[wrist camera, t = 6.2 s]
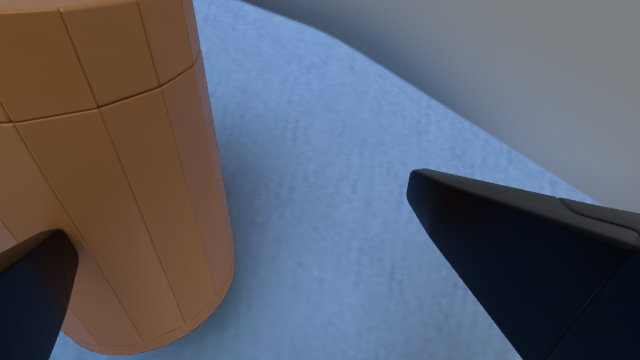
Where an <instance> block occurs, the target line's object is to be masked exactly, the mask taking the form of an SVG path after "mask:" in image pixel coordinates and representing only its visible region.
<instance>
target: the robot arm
mask: <svg viewBox="0 0 640 360" xmlns="http://www.w3.org/2000/svg"><path fill="white" fill-rule="evenodd" d="M406 195H407V200H408V202H409V204H410V206H411V207H412V209H413V211H414V213H415V214H416V216H417V218H418V219H419V221H420V223H421V224H422V226H423V228H424V229H425V231H426V233H427V234H428V236H429V237H430V239H431V240H432V241H433V243H434V244H435V245H436V247H437V248H438V249H439V251H440V252H441V253H442V255H443V256H444V257H445V258H446V260H447V261H448V262H449V264H450V265H451V266H452V268H453V269H454V270H455V271H456V273H457V274H458V275H459V277H460V278H461V279H462V281H463V282H464V283H465V285H466V286H467V287H468V288H469V290H470V291H471V292H472V294H473V295H474V296H475V298H476V299H477V300H478V302H479V303H480V304H481V305H482V307H483V308H484V309H485V311H486V312H487V313H488V315H489V316H490V317H491V319H492V320H493V321H494V322H495V324H496V325H497V326H498V328H499V329H500V330H501V332H502V333H503V334H504V336H505V337H506V338H507V339H508V341H509V342H510V343H511V345H512V346H513V347H514V349H515V350H516V351H517V353H518V354H519V355H520V356H521V358H522V359H523V360H640V214H639V213H634V212H629V211H624V210H618V209H613V208H608V207H603V206H598V205H593V204H589V203H584V202H579V201H574V200H570V199H565V198H558V199H557V198H556V197H554V196H549V195H544V194H540V193H535V192H531V191H526V190H522V189H517V188H512V187H508V186H503V185H499V184H494V183H490V182H485V181H481V180H476V179H471V178H467V177H462V176H458V175H453V174H449V173H444V172H439V171H435V170H430V169H425V168H423V169H417V170H413V171H412V172H411V173H410V177H409V182H408V187H407V193H406ZM78 265H79V256H78V253H77V251H76V249H75V247H74V246H73V244H72V242H71V241H70V239H69V237H68V236H67V234H66V233H65V232H64V231H63V230H62V229H53V230H47V231H42V232H39V233H37V234H35V235H33V236H31V237H30V238H28V239H26V240H24V241H22V242H20V243H18V244H16V245H14V246H13V247H11V248H9V249H7V250H5V251H3V252H1V253H0V360H49V358H50V355H51V353H52V350H53V347H54V345H55V342H56V340H57V337H58V335H59V332H60V329H61V327H62V324H63V322H64V319H65V316H66V313H67V309H68V306H69V302H70V298H71V294H72V290H73V285H74V281H75V277H76V273H77V269H78Z"/></svg>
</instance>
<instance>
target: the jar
mask: <svg viewBox="0 0 640 360" xmlns="http://www.w3.org/2000/svg"><path fill="white" fill-rule="evenodd" d="M53 229H62V230H63V231H64V232H65V233H66V234H67V236H68V237H69V239H70V241H71V242H72V244H73V246H74V247H75V249H76V251H77V253H78V256H79V265H78V269H77V273H76V277H75V281H74V285H73V290H72V294H71V298H70V302H69V306H68V309H67V313H66V316H65V319H64V322H63V324H62V327H61V330H62V331H63V332H64V334H65V335H67V336H68V337H70V338H71V339H72V340H73V341H74V342H75V343H77V344H78V345H79V346H81V347H83V348H85V349H87V350H90V351H92V352H96V353H100V354H106V355H132V354H137V353H143V352H147V351H150V350H154V349H157V348H160V347H162V346H165V345H167V344H170V343H172V342H174V341H176V340H178V339H179V338H181V337H183V336H185V335H186V334H188V333H189V332H191V331H192V330H194V329H195V328H196V327H198V326H199V325H200V324H201V323H202V322H204V321H205V320H206V319H207V318H208V317H209V316H210V315H211V314H212V313H213V312H214V311H215V309H216V308H217V307H218V305H219V304H220V303H221V301H222V300H223V298H224V297H225V295H226V293H227V291H228V289H229V287H230V285H231V283H232V279H233V276H234V271H235V253H234V239H233V233H232V227H231V221H230V216H229V210H228V204H227V198H226V192H225V186H224V180H223V175H222V169H221V163H220V157H219V151H218V145H217V139H216V134H215V128H214V122H213V116H212V110H211V104H210V98H209V93H208V87H207V81H206V75H205V69H204V63H203V57H202V52H201V49H200V42H199V36H198V30H197V24H196V18H195V12H194V6H193V1H192V0H0V253H1V252H3V251H5V250H7V249H9V248H11V247H13V246H14V245H16V244H18V243H20V242H22V241H24V240H26V239H28V238H30V237H31V236H33V235H35V234H37V233H39V232H42V231H47V230H53Z"/></svg>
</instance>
